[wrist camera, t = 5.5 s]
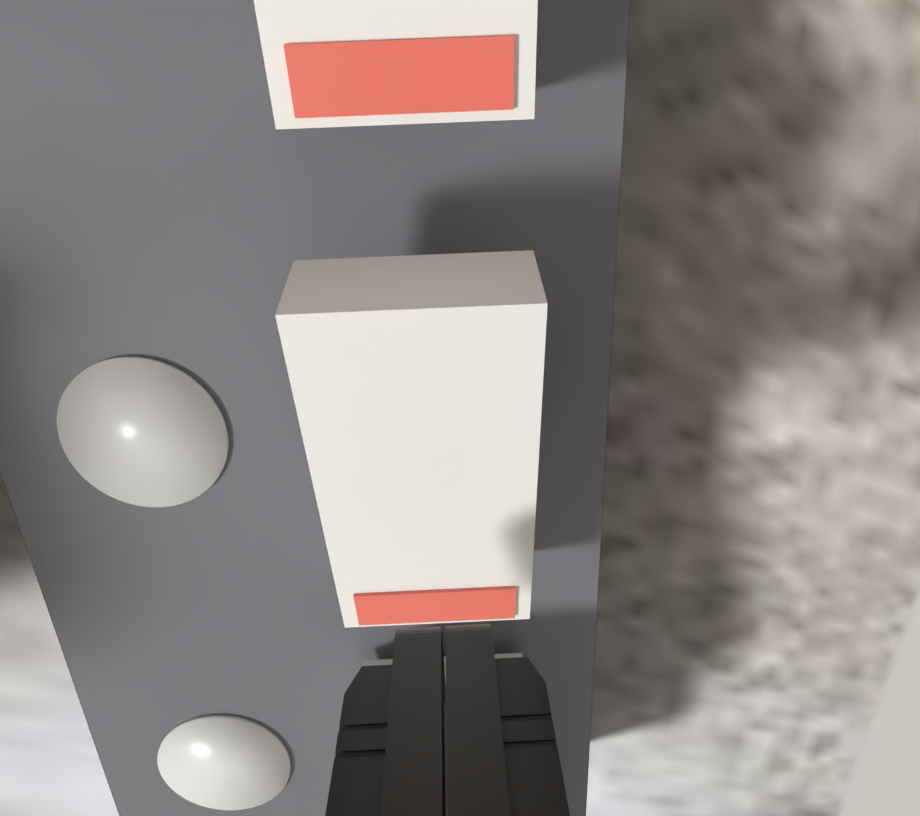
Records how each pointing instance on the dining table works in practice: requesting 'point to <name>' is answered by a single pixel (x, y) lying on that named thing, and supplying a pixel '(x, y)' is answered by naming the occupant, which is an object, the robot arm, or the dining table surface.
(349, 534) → the block
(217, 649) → the switch panel
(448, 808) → the robot arm
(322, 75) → the rocker
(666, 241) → the dining table surface
